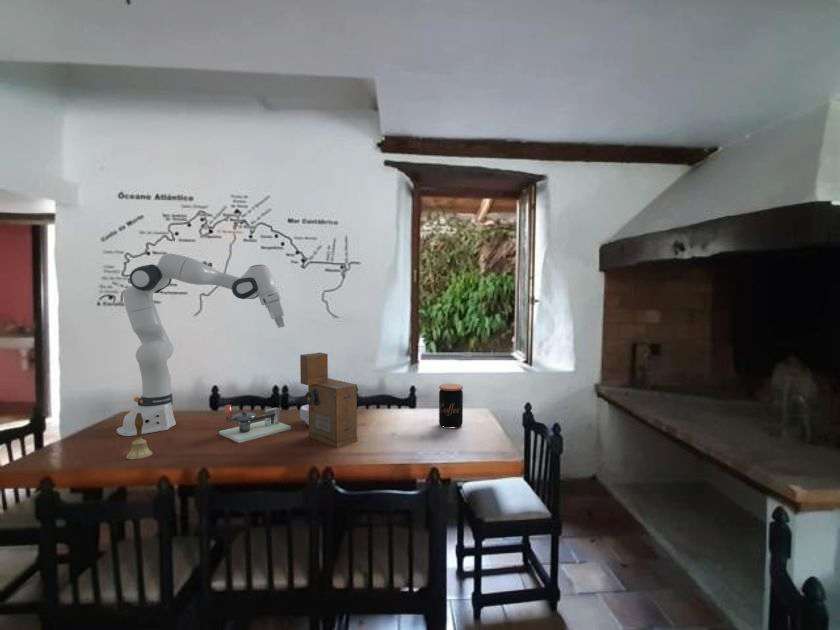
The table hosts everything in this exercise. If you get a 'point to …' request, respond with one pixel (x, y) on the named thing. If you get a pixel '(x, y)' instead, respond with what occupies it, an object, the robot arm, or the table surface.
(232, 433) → the board
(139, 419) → the hand bell
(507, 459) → the table surface
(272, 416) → the telegraph key
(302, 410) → the paper bowls
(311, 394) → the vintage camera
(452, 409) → the coffee jar
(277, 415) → the grey support bracket
